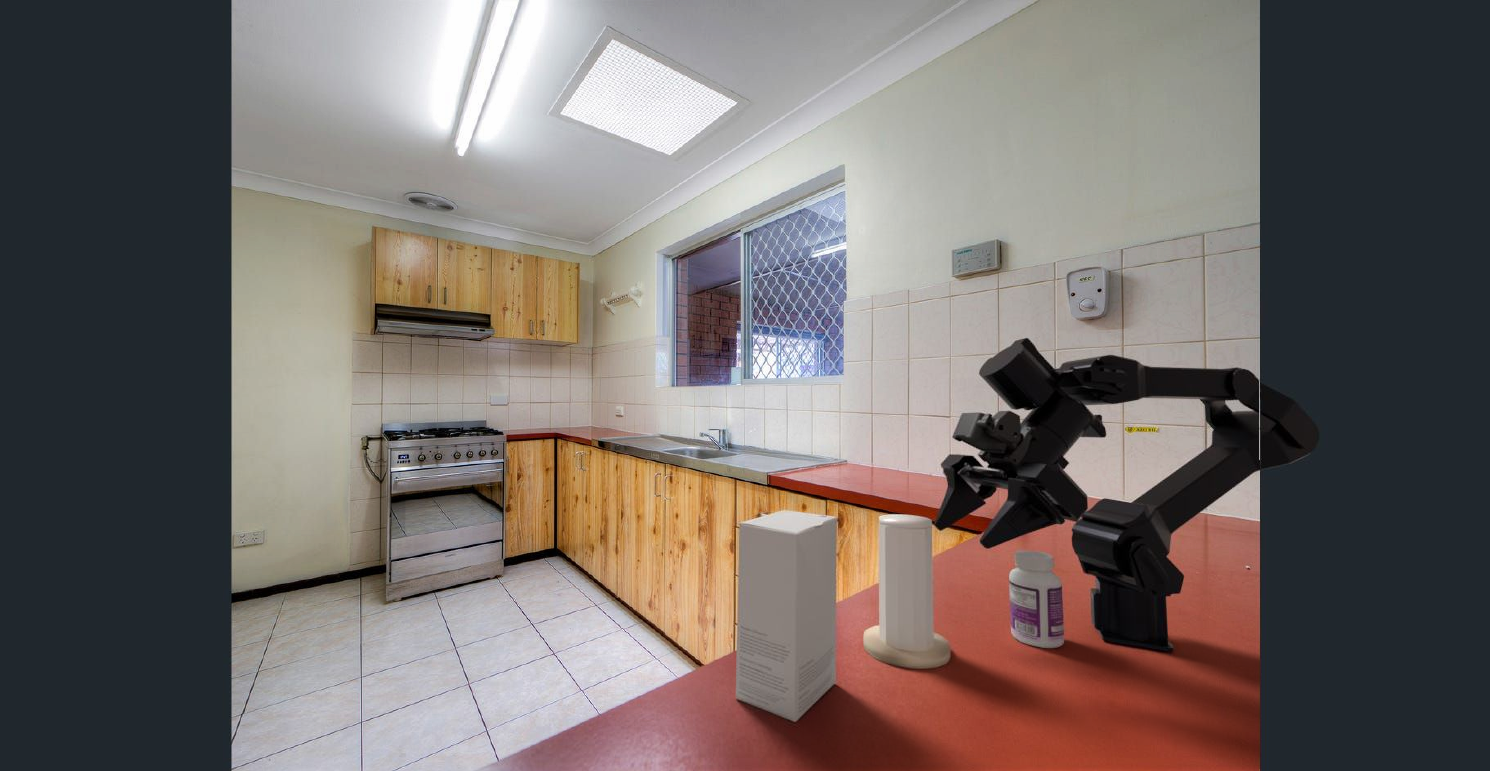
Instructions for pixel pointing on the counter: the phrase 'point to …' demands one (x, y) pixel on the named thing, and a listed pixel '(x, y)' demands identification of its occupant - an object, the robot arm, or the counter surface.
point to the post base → (907, 652)
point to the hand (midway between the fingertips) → (958, 536)
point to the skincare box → (786, 611)
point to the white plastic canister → (906, 582)
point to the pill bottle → (1036, 600)
